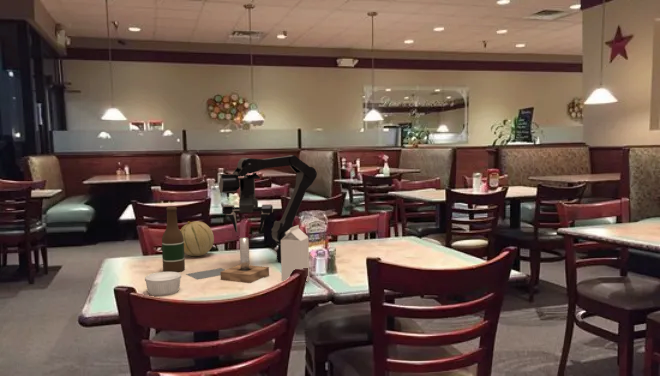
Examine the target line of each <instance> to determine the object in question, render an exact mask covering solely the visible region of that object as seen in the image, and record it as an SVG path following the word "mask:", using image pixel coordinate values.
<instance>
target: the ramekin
mask: <svg viewBox="0 0 660 376" xmlns="http://www.w3.org/2000/svg"><path fill="white" fill-rule="evenodd" d="M181 278H182V274H181V272H163V271H159V272H154V273H153V272H152V273H149V274H148V275H147V274H146V276H145V277H144V282H145V284H146V290H147V292H148V294H150V295H151V296H168V295H173V294H176V293H177V292H178V291H179V290H180V286H181Z"/></svg>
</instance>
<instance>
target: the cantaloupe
mask: <svg viewBox="0 0 660 376" xmlns="http://www.w3.org/2000/svg"><path fill="white" fill-rule="evenodd" d="M179 230H180V231H181V232H182V235H183V238H184V255H187V256H190V257H201V256H203V255H206V254H207V253H208V252H210V250H211V249H212V247H213V245H214V242H215V236H214V232H213V230H212V228H211V227H210V226H209V225H208V224H207V223H205V222H203V221H199V220H198V221H187V223H186V224H184V225H183V226H182V227H181V228H180V229H179Z"/></svg>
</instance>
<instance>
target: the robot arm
mask: <svg viewBox="0 0 660 376" xmlns="http://www.w3.org/2000/svg"><path fill="white" fill-rule="evenodd" d="M287 166H289V167H290V168H291V170H292V171H294V172H295V174H296V177H295V185H294V189H293V191H292V194H291V196H290V199H289V201H288V203H287V206H286V207H285V209H284V213H283V215H282V217H281V219H279V221H277V220H275V221H274V223H273V227H272V228H271V229H270V231H271V234H270V235H271V237H272V240H274V241H275V243H276V244H277V248H276V261H277V262H278V263H281V239H282V238H283V237H285V236H286V234H285V233H286V232H287V231H288V230H290V228H292V227H294V226H293V225H294V224H293V223H294V221H295V218H296V216H297V213H298V211H299V209H300V206H301V204H302V201H303V199H304V198H305V197H304V196H305V195H306V191H307V190H308V189H309V188H310V187H311V185H313V183H314V181H315V180H316V179H317V176H318V173H317V170H316V168H315V167H314V166H313V167H312V166H309V165H308V164H307V163H305V162H304V161H303V160H301V159H300V158H298V156H296V155H292V154H289V155H286V156H284V155H283V156H277V157H276V156H275V157H269V158H268V157H267V158H253V157H252V158H250V157H248V158H247V157H242V158H240V159H239V160H238V162H237V167H236V168H235V170H234V171H233V173H232V174H228V173H226V174H225V173H221V174H219V175H220V177H219V183H218V187H219V189H218V190H219V192H220V193H236V192H237V191H238V190H239V200H238V201H239V202H238V206H235V205H233V204H228V205H227V204H226V205H224V206H223V207H222V209H221V211H222V212H221V214H222V215H225V217H228V218H229V219H230V222H231V223H232V226H233V228H234V230H235V233H238V222H237V218H236V216H237V215H236V213H238V212H239V213H240V214H243V213H248V214H251V213H253V212H261V214H260V223H259V232H262V230H263V227H264V222H265V220H266V218H267V217H268V216H269V215H270V214H273V212H274V206H273V204H271V203H270V204H267V203H266V204H262V205H261V206H259V199H258V198H256V183H255V180H260V179H261V177H260V176H259V175H258V174H257V173H256V172H260V171H262V170H265V169H272V168H280V167H287Z"/></svg>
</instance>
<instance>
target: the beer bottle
mask: <svg viewBox="0 0 660 376" xmlns="http://www.w3.org/2000/svg"><path fill="white" fill-rule="evenodd" d="M165 210H166V227H165V230H164V232H163V234H162V237H161V252H162V253H161V255H162V258H161V259H162V269H163V270H162V272H178V273H182V272H184V271H185V268H186V261H185V253H184V238H183V235H182V232H181V231H180V230H181V229H180V228H179V224H178V216H177V215H178V214H177V210H178V208H177V206H168V207H166V209H165Z"/></svg>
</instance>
